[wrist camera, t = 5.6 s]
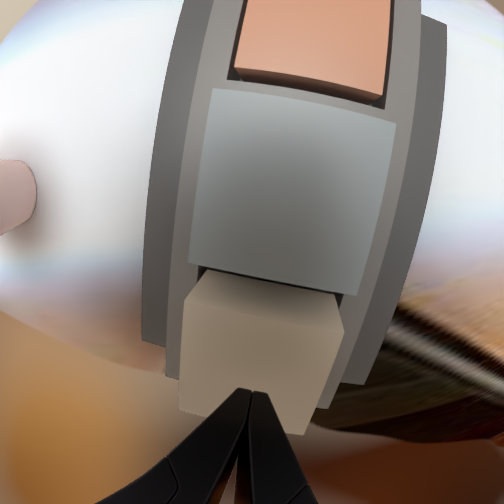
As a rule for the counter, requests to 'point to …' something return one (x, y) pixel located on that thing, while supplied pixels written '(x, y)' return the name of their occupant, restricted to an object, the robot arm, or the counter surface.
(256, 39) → the key terracotta
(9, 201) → the smoothie
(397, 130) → the keypad
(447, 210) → the counter surface
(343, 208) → the key slate
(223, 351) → the key ivory
